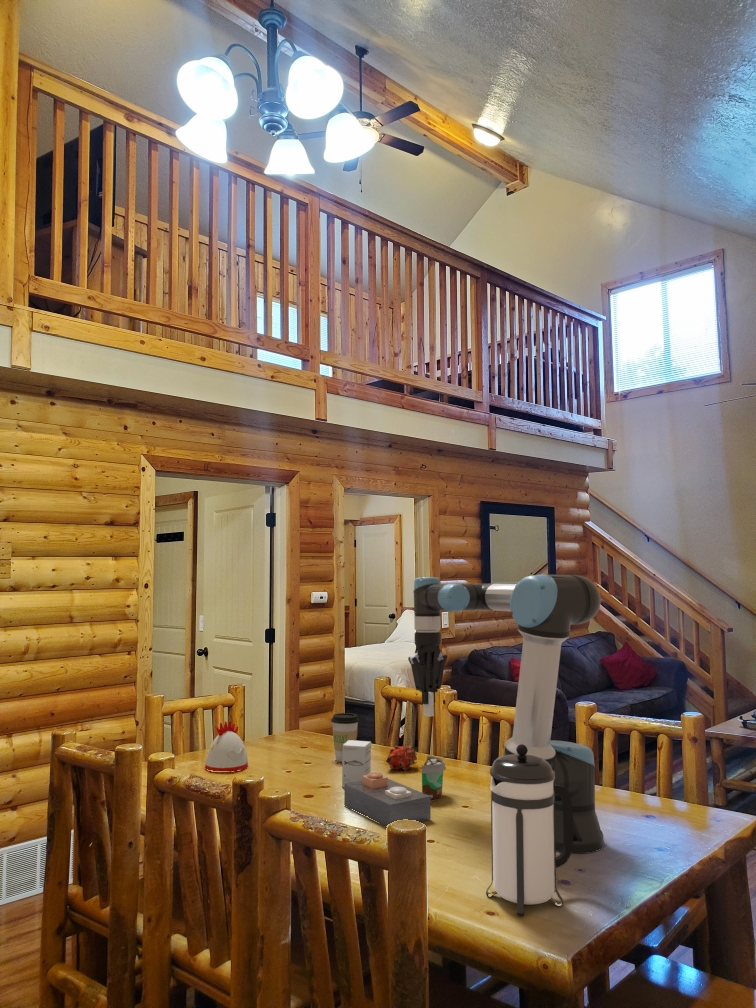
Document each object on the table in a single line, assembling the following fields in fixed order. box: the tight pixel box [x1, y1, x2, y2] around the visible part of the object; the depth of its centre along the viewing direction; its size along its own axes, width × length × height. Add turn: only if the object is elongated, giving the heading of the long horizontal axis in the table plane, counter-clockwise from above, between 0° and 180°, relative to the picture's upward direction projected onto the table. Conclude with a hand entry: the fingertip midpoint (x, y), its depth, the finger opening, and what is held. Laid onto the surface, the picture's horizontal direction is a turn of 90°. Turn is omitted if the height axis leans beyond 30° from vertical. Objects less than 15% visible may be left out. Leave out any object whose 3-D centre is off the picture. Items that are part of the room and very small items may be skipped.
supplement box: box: [341, 740, 372, 788], centre depth 220 cm, size 7×7×13 cm
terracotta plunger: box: [362, 771, 389, 789], centre depth 199 cm, size 5×5×7 cm
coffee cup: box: [330, 712, 360, 763], centre depth 251 cm, size 10×10×15 cm
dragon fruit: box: [385, 743, 417, 772], centre depth 238 cm, size 8×8×12 cm
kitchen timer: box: [204, 720, 249, 771], centre depth 240 cm, size 14×14×15 cm
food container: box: [421, 755, 446, 802], centre depth 209 cm, size 12×6×10 cm, turn 168°
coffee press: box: [485, 744, 573, 917], centre depth 145 cm, size 17×16×30 cm
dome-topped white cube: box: [385, 787, 411, 799], centre depth 190 cm, size 5×5×7 cm
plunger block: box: [343, 778, 432, 828], centre depth 195 cm, size 22×13×6 cm, turn 34°
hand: (428, 715), depth 204 cm, fingers closed
